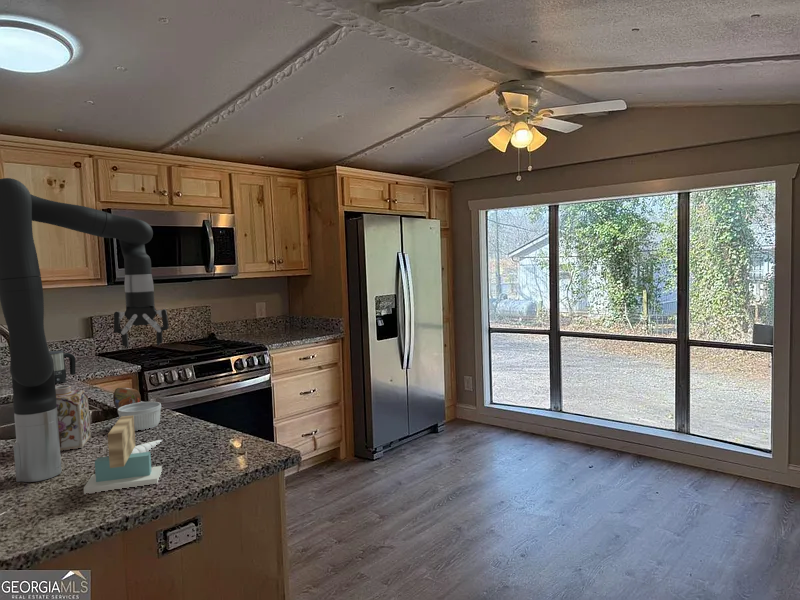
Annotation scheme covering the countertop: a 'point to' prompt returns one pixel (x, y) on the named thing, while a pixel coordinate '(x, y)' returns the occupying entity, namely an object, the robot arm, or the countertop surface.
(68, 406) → the decorative jar
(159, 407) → the ramekin
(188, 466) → the countertop surface
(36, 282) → the robot arm
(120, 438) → the wooden beam
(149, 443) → the unicorn horn
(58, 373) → the milk frother
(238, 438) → the countertop surface
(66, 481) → the countertop surface
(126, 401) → the tin
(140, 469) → the ridge stand
